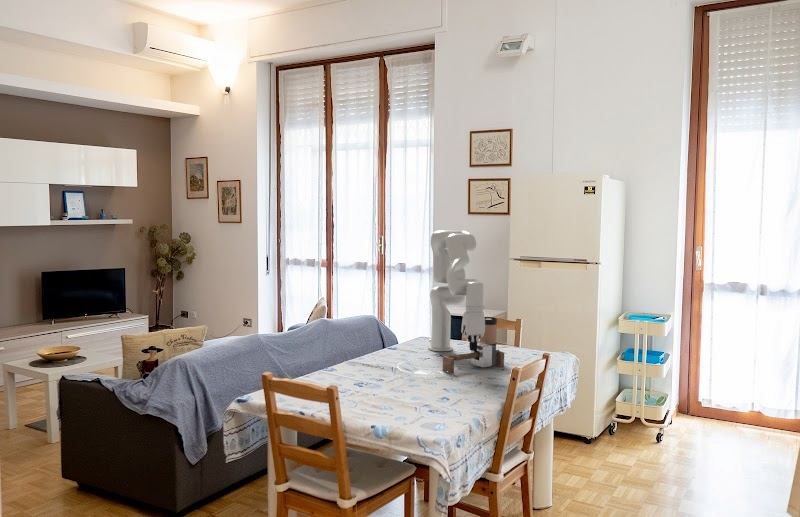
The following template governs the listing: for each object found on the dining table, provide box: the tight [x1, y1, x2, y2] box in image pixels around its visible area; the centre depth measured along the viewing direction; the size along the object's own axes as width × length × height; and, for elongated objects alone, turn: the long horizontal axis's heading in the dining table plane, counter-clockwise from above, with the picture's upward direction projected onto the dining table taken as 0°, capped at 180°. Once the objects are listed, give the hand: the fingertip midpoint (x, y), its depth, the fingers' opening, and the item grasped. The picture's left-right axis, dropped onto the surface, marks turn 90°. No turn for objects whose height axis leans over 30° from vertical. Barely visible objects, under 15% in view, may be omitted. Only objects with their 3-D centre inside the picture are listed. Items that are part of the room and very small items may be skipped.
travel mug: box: [479, 316, 498, 347], centre depth 314 cm, size 8×8×20 cm
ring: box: [484, 343, 497, 366], centre depth 303 cm, size 2×8×8 cm, turn 29°
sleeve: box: [470, 341, 492, 368], centre depth 301 cm, size 5×9×9 cm, turn 29°
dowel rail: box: [442, 349, 505, 374], centre depth 299 cm, size 29×6×7 cm, turn 119°
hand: (473, 350), depth 298 cm, fingers closed
